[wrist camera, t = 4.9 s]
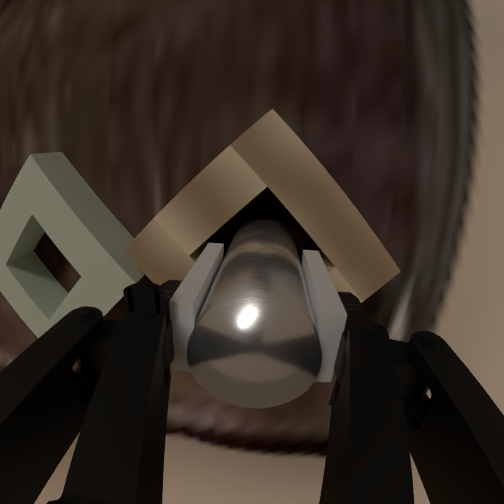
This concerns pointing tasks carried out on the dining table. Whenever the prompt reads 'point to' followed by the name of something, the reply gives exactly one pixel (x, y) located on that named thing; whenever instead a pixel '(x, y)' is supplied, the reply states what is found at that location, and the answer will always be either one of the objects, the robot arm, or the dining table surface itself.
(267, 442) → the dining table surface
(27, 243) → the socket block
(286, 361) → the lock pin
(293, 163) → the block
